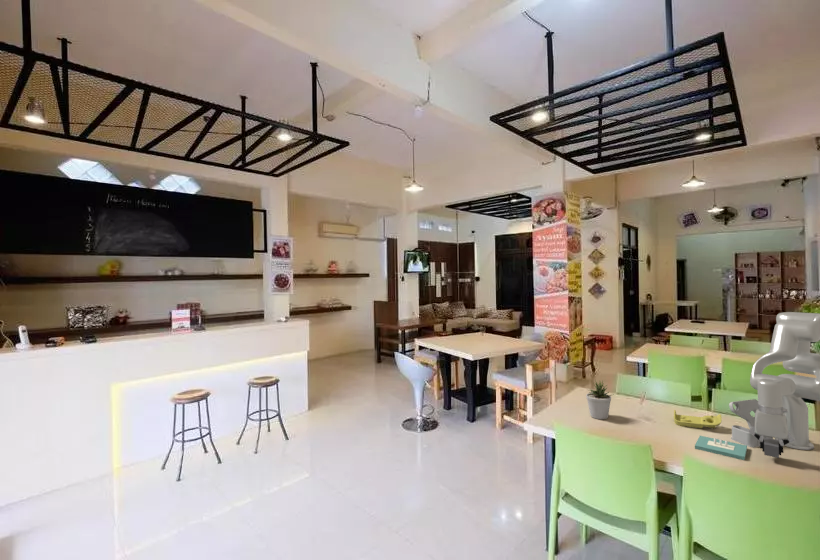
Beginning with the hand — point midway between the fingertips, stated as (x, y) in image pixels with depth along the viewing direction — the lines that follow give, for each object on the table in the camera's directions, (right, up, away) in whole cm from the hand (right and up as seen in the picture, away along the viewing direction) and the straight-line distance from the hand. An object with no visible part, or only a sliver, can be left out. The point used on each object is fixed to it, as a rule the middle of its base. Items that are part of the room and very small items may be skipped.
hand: (771, 451), depth 163 cm
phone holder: (+9, -3, +18) cm, 20 cm away
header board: (-13, -4, +11) cm, 17 cm away
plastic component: (-4, -3, +37) cm, 37 cm away
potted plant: (-46, -4, +54) cm, 71 cm away
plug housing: (0, 0, 0) cm, 0 cm away
